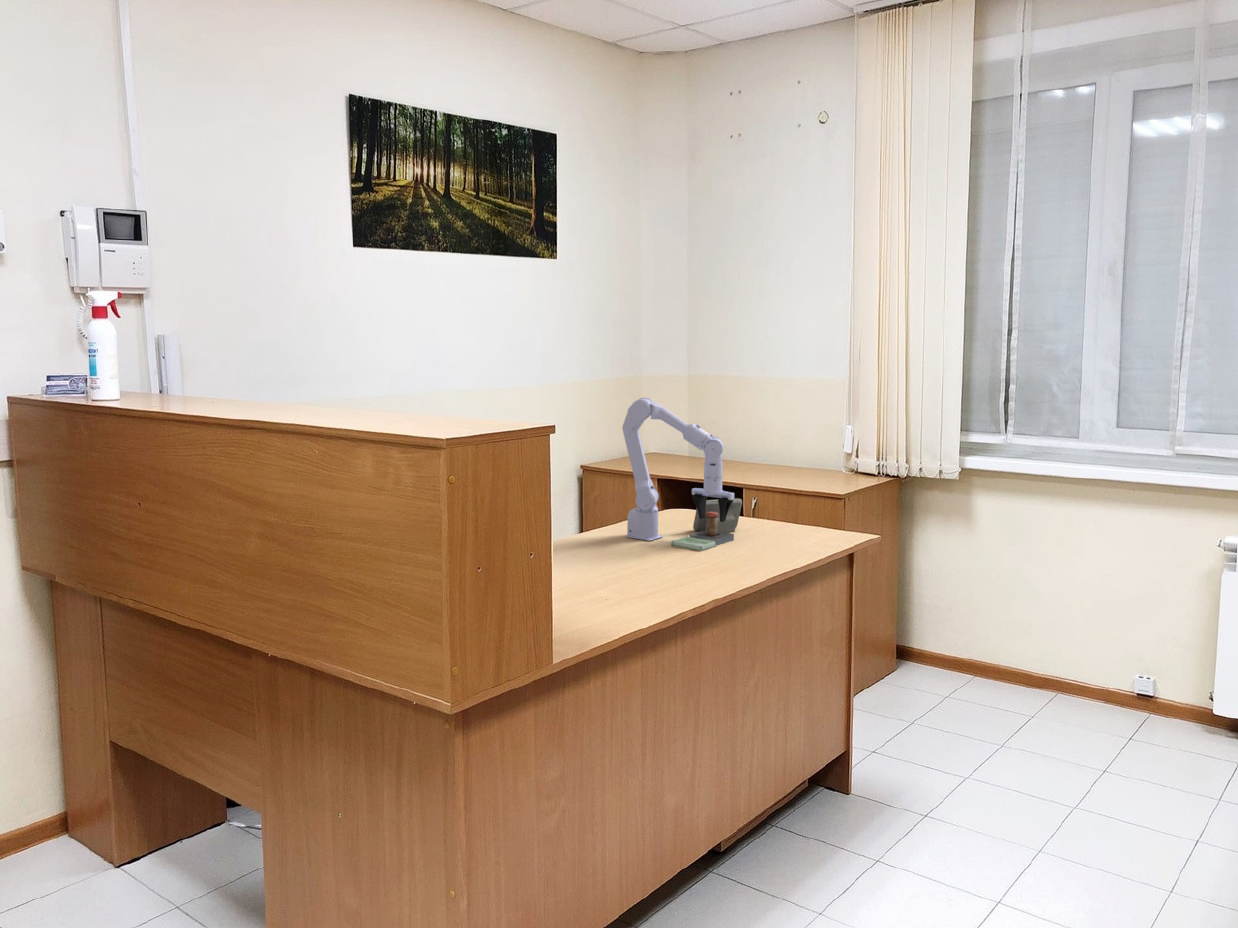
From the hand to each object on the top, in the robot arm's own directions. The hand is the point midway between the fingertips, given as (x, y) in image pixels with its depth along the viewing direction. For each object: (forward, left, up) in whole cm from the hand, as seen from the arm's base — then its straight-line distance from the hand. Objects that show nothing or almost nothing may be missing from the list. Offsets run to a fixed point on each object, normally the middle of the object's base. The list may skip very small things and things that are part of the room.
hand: (712, 519), depth 309 cm
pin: (0, 0, -7) cm, 7 cm away
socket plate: (0, 0, -7) cm, 7 cm away
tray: (0, -10, -7) cm, 12 cm away
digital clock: (-7, +14, -7) cm, 17 cm away
